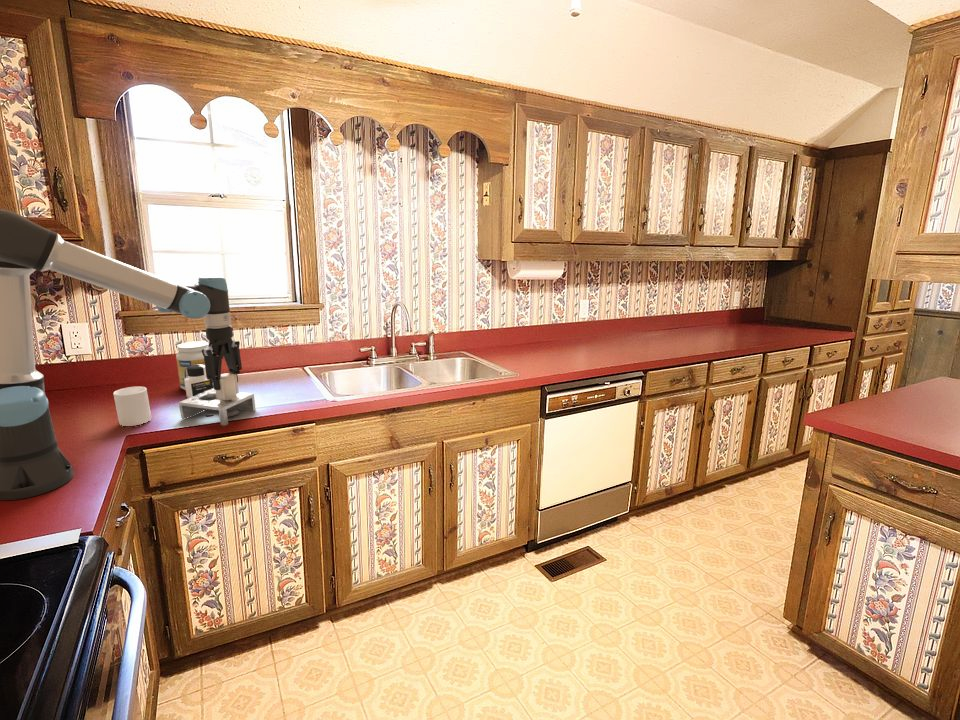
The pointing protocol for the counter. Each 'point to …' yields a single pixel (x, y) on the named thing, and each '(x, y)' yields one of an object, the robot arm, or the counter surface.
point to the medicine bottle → (197, 380)
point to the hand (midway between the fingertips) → (227, 395)
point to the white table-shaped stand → (216, 404)
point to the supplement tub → (189, 358)
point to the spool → (229, 391)
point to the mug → (132, 406)
